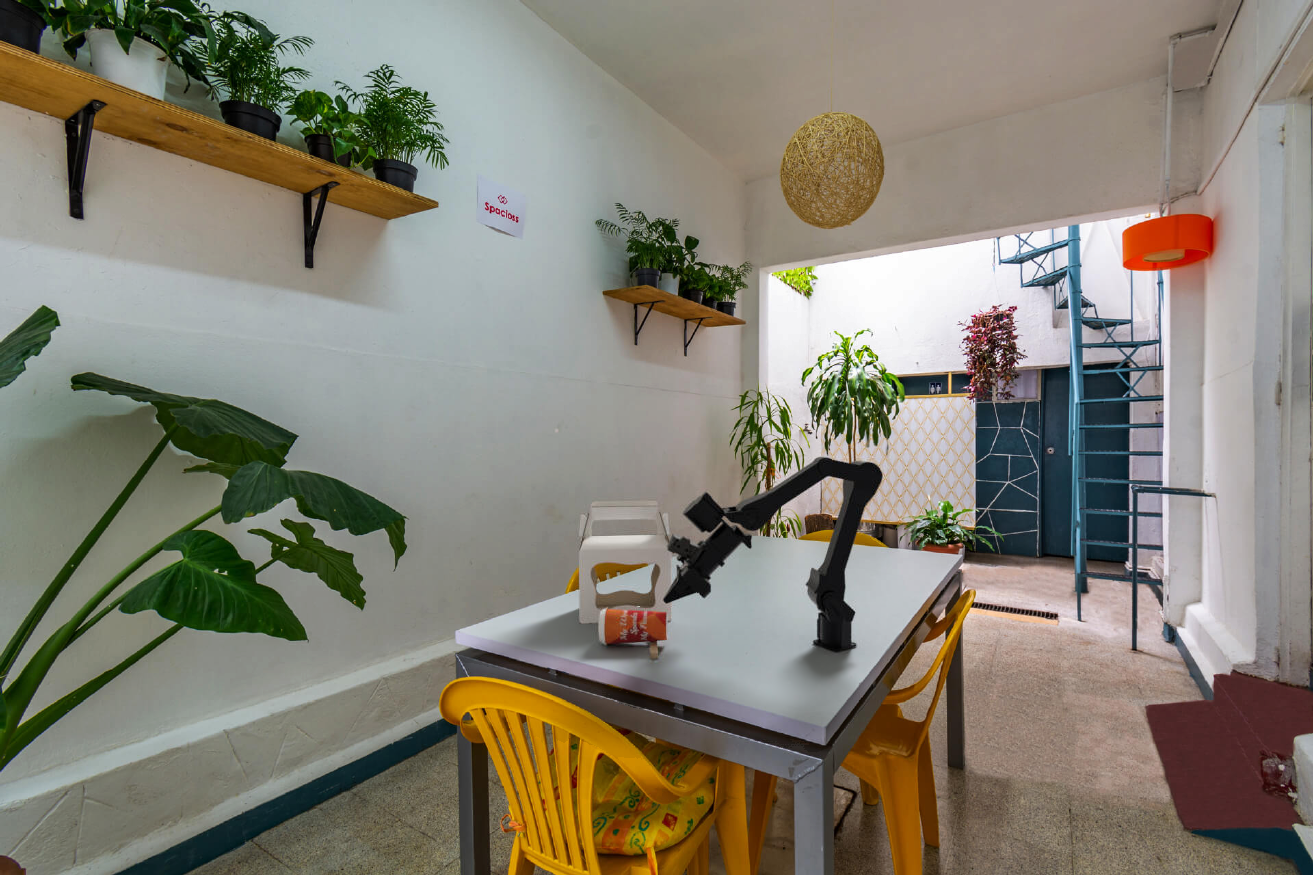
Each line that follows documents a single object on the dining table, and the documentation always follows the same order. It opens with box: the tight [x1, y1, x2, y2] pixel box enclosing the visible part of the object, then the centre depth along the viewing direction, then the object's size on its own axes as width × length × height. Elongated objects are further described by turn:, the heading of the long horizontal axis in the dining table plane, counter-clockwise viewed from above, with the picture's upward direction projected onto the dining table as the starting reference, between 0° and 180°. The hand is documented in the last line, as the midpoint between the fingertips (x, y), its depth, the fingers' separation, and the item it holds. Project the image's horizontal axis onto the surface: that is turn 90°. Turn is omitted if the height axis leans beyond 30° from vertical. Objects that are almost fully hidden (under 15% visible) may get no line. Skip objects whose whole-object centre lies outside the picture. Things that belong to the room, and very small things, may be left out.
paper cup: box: [597, 607, 669, 646], centre depth 126 cm, size 8×8×14 cm
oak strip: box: [649, 641, 659, 660], centre depth 125 cm, size 12×2×1 cm, turn 2°
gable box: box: [578, 499, 673, 625], centre depth 148 cm, size 22×13×28 cm, turn 95°
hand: (664, 601), depth 125 cm, fingers closed
